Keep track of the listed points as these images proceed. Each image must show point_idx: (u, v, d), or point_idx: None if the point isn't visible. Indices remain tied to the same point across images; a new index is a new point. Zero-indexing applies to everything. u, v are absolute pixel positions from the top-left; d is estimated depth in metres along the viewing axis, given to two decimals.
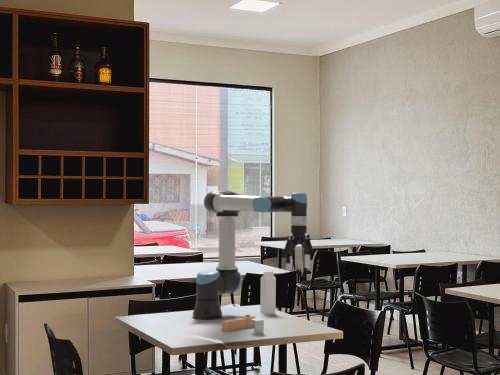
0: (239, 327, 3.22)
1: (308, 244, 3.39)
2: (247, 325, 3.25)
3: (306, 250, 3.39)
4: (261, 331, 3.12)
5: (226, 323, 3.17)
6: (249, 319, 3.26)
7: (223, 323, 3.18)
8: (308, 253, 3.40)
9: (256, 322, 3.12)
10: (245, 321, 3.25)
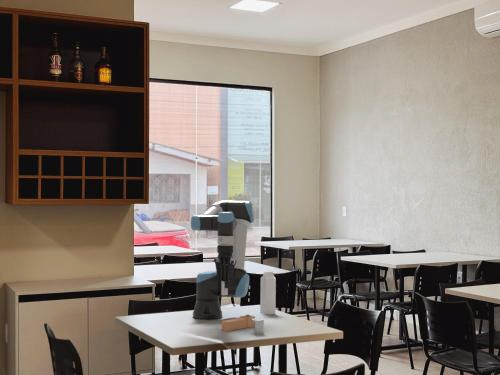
0: (239, 327, 3.22)
1: None
2: (247, 325, 3.25)
3: None
4: (261, 331, 3.12)
5: (226, 323, 3.17)
6: (249, 319, 3.26)
7: (223, 323, 3.18)
8: None
9: (256, 322, 3.12)
10: (245, 321, 3.25)
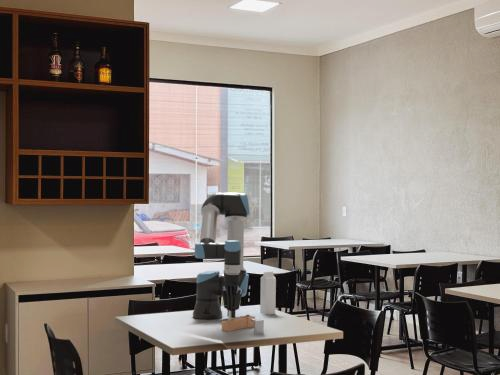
0: (239, 327, 3.22)
1: None
2: (247, 325, 3.25)
3: None
4: (261, 331, 3.12)
5: (226, 323, 3.17)
6: (249, 319, 3.26)
7: (223, 323, 3.18)
8: None
9: (256, 322, 3.12)
10: (245, 321, 3.25)
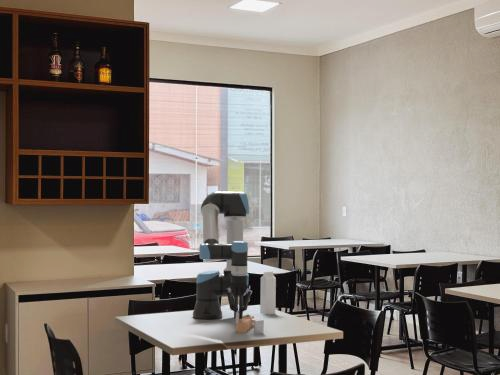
0: (248, 328, 3.21)
1: None
2: (251, 325, 3.26)
3: None
4: (261, 331, 3.12)
5: (243, 325, 3.13)
6: None
7: (239, 325, 3.14)
8: (239, 310, 3.21)
9: (256, 322, 3.12)
10: (250, 321, 3.25)
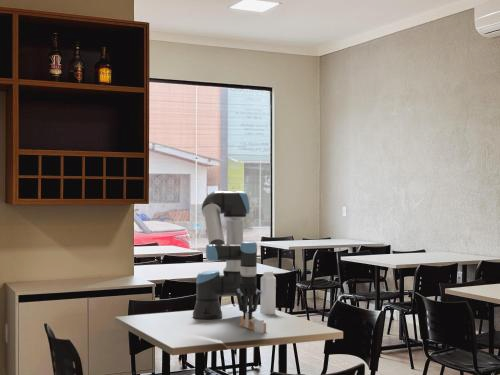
0: None
1: None
2: None
3: None
4: (261, 331, 3.12)
5: (264, 324, 3.15)
6: None
7: None
8: None
9: (256, 322, 3.12)
10: None
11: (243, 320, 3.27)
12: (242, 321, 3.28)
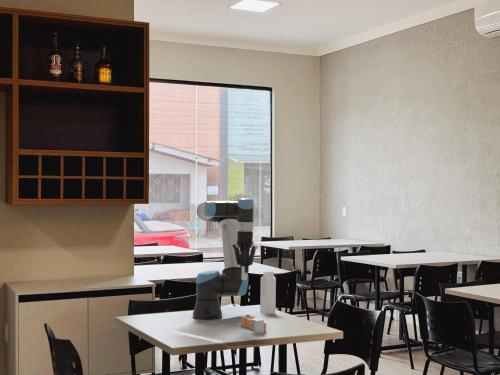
0: None
1: None
2: None
3: None
4: (261, 331, 3.12)
5: (264, 324, 3.15)
6: None
7: None
8: None
9: (256, 322, 3.12)
10: None
11: (243, 320, 3.27)
12: (242, 321, 3.28)
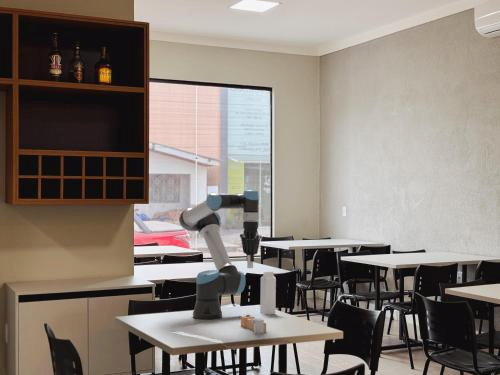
0: None
1: None
2: None
3: None
4: (261, 331, 3.12)
5: (264, 324, 3.15)
6: None
7: None
8: None
9: (256, 322, 3.12)
10: None
11: (243, 320, 3.27)
12: (242, 321, 3.28)
